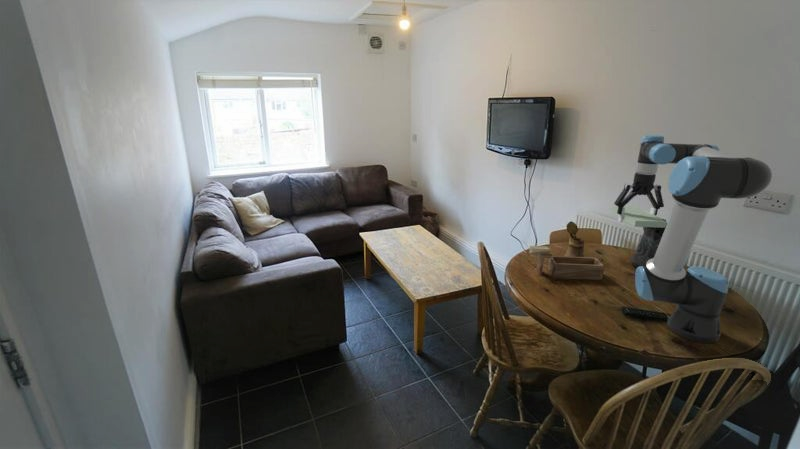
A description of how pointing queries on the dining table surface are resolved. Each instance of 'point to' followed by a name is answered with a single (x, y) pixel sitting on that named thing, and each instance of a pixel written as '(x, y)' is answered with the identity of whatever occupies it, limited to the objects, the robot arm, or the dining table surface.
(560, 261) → the toolbox
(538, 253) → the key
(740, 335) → the dining table surface
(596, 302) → the dining table surface
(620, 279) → the dining table surface
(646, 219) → the lid
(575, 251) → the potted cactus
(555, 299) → the dining table surface
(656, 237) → the beer stein
